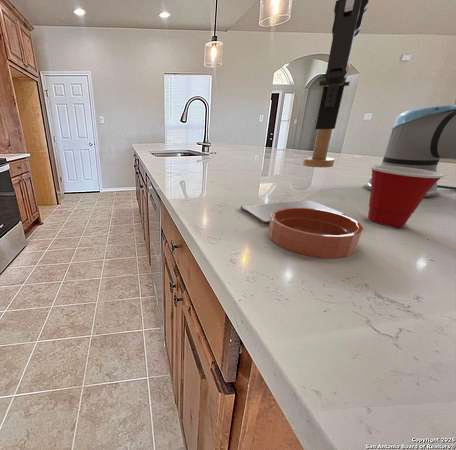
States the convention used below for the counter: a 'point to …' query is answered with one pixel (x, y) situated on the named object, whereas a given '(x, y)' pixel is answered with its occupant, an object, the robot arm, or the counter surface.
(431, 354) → the counter surface
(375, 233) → the counter surface
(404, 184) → the plastic cup
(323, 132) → the stirrer
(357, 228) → the bowl
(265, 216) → the board
